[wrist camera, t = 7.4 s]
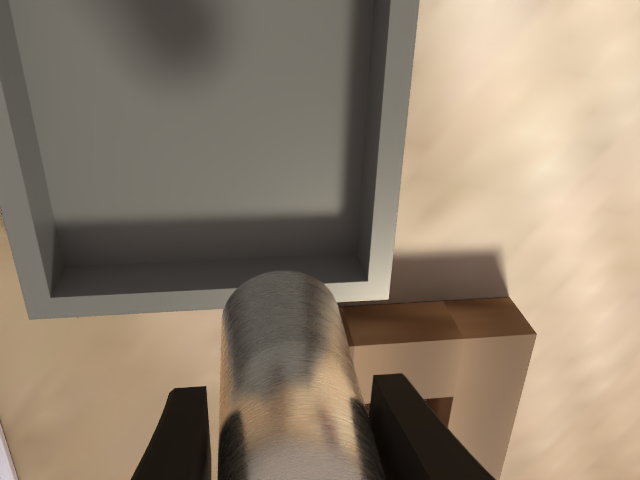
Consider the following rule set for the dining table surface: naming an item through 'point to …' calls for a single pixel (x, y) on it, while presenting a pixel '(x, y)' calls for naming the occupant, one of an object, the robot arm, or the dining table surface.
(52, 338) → the dining table surface
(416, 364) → the pin block
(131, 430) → the dining table surface
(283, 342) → the pin
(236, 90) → the tray
